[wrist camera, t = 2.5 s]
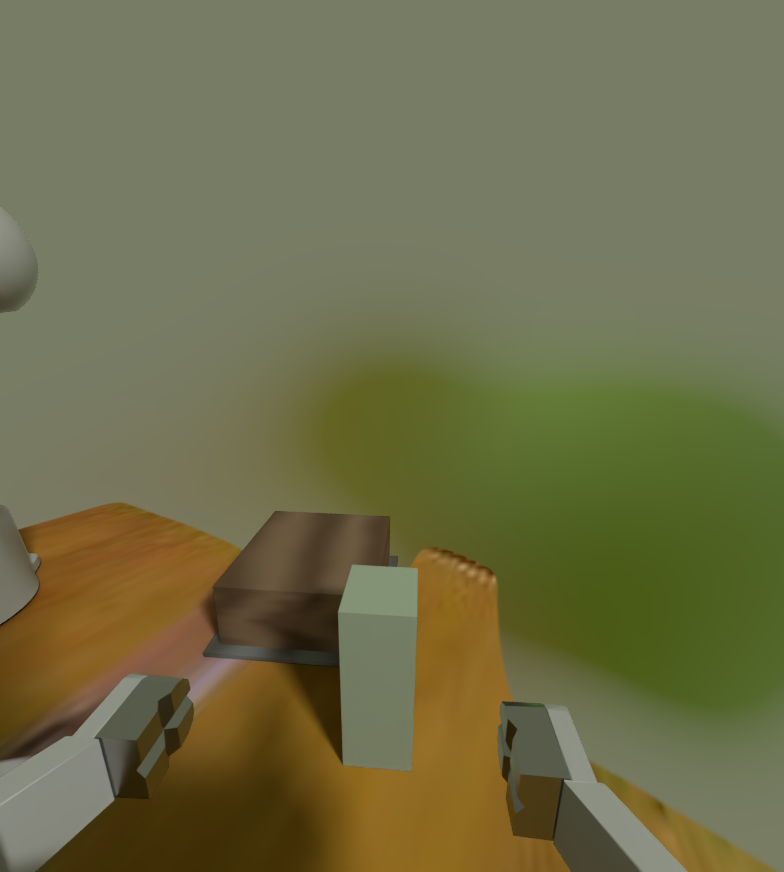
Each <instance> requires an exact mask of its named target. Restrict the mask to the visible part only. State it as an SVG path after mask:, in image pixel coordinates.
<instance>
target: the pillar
mask: <svg viewBox="0 0 784 872" xmlns="http://www.w3.org/2000/svg"><path fill="white" fill-rule="evenodd" d="M417 580H418V568H403V567H385V566H367V565H352V567H351V570H350V574H349V577H348V580H347V584H346V587H345V590H344V594H343V597H342V600H341V604H340V607H339V611H338V626H339V657H340V689H341V720H342V751H343V765H347V766H358V767H369V768H379V769H390V770H401V771H412V745H413V717H414V689H415V662H416V634H417Z"/></svg>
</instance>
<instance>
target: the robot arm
mask: <svg viewBox="0 0 784 872" xmlns="http://www.w3.org/2000/svg"><path fill="white" fill-rule="evenodd" d="M37 277H38V265H37V259H36V256H35V253H34V250H33V248H32V245H31V243H30V242H29V240H28V238H27V236H26V235H25V233H24V232H23V230H22V229H21V228H20V226H19V225H18V224H17V223H16V221H15V220H14V219H13V218H12V217H11V216H10V215H9V214H8V213H7V212H6V211H5V210H4V209H3V208H1V207H0V313H4V312H11V311H17V310H19V309H20V308H21V307H22V306H24V304H25V303H26V302H27V301H28V300H29V299H30V297H31V295H32V294H33V292H34V290H35V287H36V284H37V279H38V278H37ZM40 562H41V561H40V559H39V557H38V555H37V554H35V553H28V552H27V549H26V547H25V545H24V543H23V540H22V538H21V536H20V533H19V531H18V529H17V527H16V524H15V522H14V520H13V518H12V516H11V513H10V512H9V510H8V508H7V507H5V506H2V505H0V624H1V623H3V622H4V621H6V620H7V619H9V618H10V617H12V616H13V615H14V614H16V613H17V612H18V611H19V610H21V609H22V608H23V607H24V606H25V605H26V604H27V603H28V602H29V601H30V600H31V599H32V598H33V596H34V595H35V593H36V592H37V590H38V587H39V580H38V578H37V576H36V574H35V571H36V570H37V568H38V567H39V565H40ZM189 691H190V685H189V680H188V679H183V678H174V677H165V676H155V675H145V674H133V673H131V674H129V675H128V676H126V677H124V678H123V679H122V680H121V681H120V683H119V684H118V685H117V686H116V687H115V688H114V689H113V691H112V692H111V693H110V694H109V695H108V696H107V697H106V698H105V700H104V701H103V702H102V703H101V704H100V705H99V706H98V707H97V709H96V710H95V711H94V712H93V713H92V714H91V715H90V717H89V718H88V719H87V720H86V721H85V722H84V723H83V724H82V726H81V727H80V728H79V729H78V730H77V731H76V732H75V733H74V735H73V736H65V737H64V738H62V739H61V740H59V741H57V742H56V743H54V744H53V745H51V746H49V747H48V748H46V749H45V750H43V751H41V752H40V753H38V754H36V755H35V756H33V757H32V758H30V759H28V760H27V761H25V762H24V763H22V764H20V765H19V766H17V767H16V768H14V769H12V770H11V771H9V772H7V773H6V774H4V775H3V776H1V777H0V872H36V871H37V870H38V869H39V868H40V867H41V866H42V865H43V864H44V863H46V862H47V861H48V860H49V859H50V858H51V857H52V856H53V855H54V854H55V853H57V852H58V851H59V850H60V849H61V848H62V847H63V846H64V845H65V844H67V843H68V842H69V841H70V840H71V839H72V838H73V837H74V836H75V835H76V834H78V833H79V832H80V831H81V830H82V829H83V828H84V827H85V826H86V825H87V824H89V823H90V822H91V821H92V820H93V819H94V818H95V817H96V816H97V815H98V814H100V813H101V812H102V811H103V810H104V809H105V808H106V807H107V806H108V805H109V804H111V803H112V802H113V801H114V797H119V798H135V799H150V798H151V797H152V795H153V793H154V792H155V790H156V788H157V787H158V785H159V783H160V781H161V780H162V778H163V776H164V775H165V773H166V771H167V770H168V768H169V756H170V755H171V754H173V753H174V752H175V751H176V750H178V749H179V748H180V747H181V746H182V744H183V742H184V741H185V739H186V737H187V735H188V733H189V730H190V727H191V724H192V722H193V715H194V707H193V702H192V701H191V700H190V699H189V698H188V697H187V696H186V695H187V694H188V692H189ZM500 717H501V722H502V724H501V725H499V726H498V736H497V740H498V756H499V763H500V769H501V775H502V776H503V778H504V779H505V780H506V782H507V793H506V801H507V807H508V812H509V817H510V822H511V827H512V832H513V836H520V837H527V838H535V839H542V840H550V841H554V842H553V844H554V846H555V847H556V849H557V850H558V852H559V853H560V855H561V856H562V858H563V860H564V861H565V863H566V864H567V866H568V867H569V869H570V870H571V872H688V871H687V870H686V869H685V868H684V867H683V866H682V865H681V864H680V863H679V862H678V861H677V860H676V859H675V858H674V857H673V856H672V855H671V854H670V852H669V851H668V850H667V849H666V848H665V847H664V846H663V845H662V844H661V843H660V842H659V841H658V840H657V839H656V838H655V837H654V836H653V834H652V833H651V832H650V831H649V830H648V829H647V828H646V827H645V826H644V825H643V824H642V823H641V822H640V821H639V820H638V819H637V818H636V816H635V815H634V814H633V813H632V812H631V811H630V810H629V809H628V808H627V807H626V806H625V805H624V804H623V803H622V802H621V801H620V800H619V798H618V797H617V796H616V795H615V794H614V793H613V792H612V791H611V790H610V789H609V788H608V787H607V786H606V785H605V784H604V783H597V781H596V778H595V776H594V773H593V771H592V768H591V766H590V763H589V761H588V758H587V756H586V754H585V751H584V749H583V746H582V744H581V741H580V739H579V736H578V734H577V731H576V729H575V726H574V724H573V721H572V719H571V716H570V714H569V711H568V710H567V708H566V707H565V706H561V705H547V704H543V705H542V704H540V703H524V702H506V701H502V703H501V705H500Z"/></svg>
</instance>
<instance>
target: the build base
mask: <svg viewBox="0 0 784 872" xmlns="http://www.w3.org/2000/svg"><path fill="white" fill-rule="evenodd" d="M389 545H390V517H389V516H367V515H348V514H347V515H346V514H327V513H306V512H284V511H275V512H274V513H273V514H272V516H271V517H270V518H269V519H268V521H267V522H266V523H265V524H264V525H263V527H262V528H261V529H260V530H259V532H258V533H257V534H256V535H255V536H254V537H253V539H252V540H251V541H250V542H249V544H248V545H247V546H246V547H245V548H244V550H243V551H242V552H241V553H240V554H239V556H238V557H237V558H236V559H235V560H234V562H233V563H232V564H231V565H230V567H229V568H228V569H227V570H226V571H225V573H224V574H223V575H222V576H221V577H220V579H219V580H218V581H217V582H216V583H215V585H214V586H213V592H214V599H215V607H216V614H217V622H218V629H219V631H218V632H217V634H216V635H215V636H214V638H213V639H212V641H211V642H210V644H209V645H208V647H207V648H206V650H205V651H204V656H206V657H219V658H232V659H245V660H258V661H271V662H284V663H297V664H310V665H323V666H336V667H340V657H339V626H338V611H339V607H340V604H341V600H342V597H343V594H344V590H345V587H346V584H347V580H348V577H349V574H350V570H351V567H352V565H367V566H385V567H397V562H398V556H389V548H390V546H389Z"/></svg>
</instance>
